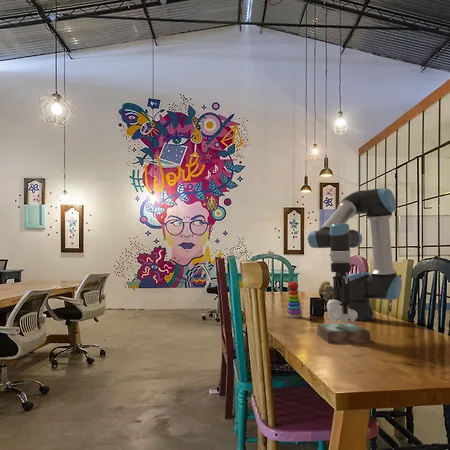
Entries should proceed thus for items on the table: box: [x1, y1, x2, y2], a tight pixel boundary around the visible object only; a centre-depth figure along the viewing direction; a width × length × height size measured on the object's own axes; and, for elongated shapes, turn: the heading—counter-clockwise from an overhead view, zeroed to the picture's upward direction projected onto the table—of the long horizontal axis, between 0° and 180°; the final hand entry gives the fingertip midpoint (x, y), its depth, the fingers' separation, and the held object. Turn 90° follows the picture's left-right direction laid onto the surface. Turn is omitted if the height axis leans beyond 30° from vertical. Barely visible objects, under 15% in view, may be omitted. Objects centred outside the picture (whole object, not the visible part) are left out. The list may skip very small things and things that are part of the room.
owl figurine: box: [318, 280, 333, 312], centre depth 242 cm, size 18×12×17 cm, turn 164°
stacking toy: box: [286, 280, 303, 319], centre depth 217 cm, size 8×8×19 cm
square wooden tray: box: [316, 323, 371, 344], centre depth 163 cm, size 16×16×4 cm
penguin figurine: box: [327, 300, 358, 324], centre depth 163 cm, size 6×8×12 cm
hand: (342, 320), depth 163 cm, fingers closed on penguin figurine, 6 cm apart
